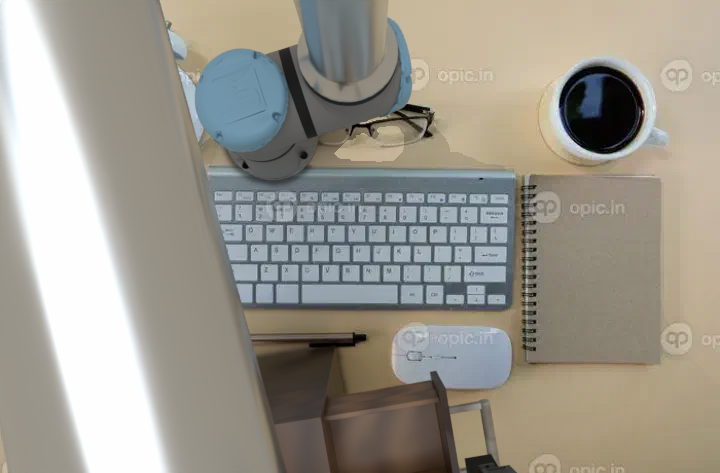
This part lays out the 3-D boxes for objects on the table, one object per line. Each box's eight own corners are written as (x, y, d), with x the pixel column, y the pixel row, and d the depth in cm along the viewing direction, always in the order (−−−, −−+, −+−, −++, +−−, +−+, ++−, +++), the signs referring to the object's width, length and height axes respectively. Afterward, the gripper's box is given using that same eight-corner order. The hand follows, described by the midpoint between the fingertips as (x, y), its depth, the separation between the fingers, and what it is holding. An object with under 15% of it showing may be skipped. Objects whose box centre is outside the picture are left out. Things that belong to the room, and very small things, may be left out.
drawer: (474, 363, 57) (489, 381, 51) (492, 470, 58) (509, 501, 51) (319, 389, 57) (314, 410, 51) (338, 496, 58) (335, 531, 51)
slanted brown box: (335, 344, 79) (321, 416, 49) (348, 423, 79) (342, 541, 49) (249, 359, 79) (183, 439, 49) (263, 437, 79) (205, 564, 49)
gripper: (505, 590, 23) (431, 405, 47) (546, 841, 24) (452, 532, 47) (654, 565, 23) (505, 393, 47) (694, 816, 24) (526, 520, 47)
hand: (479, 463), depth 47 cm, fingers closed
